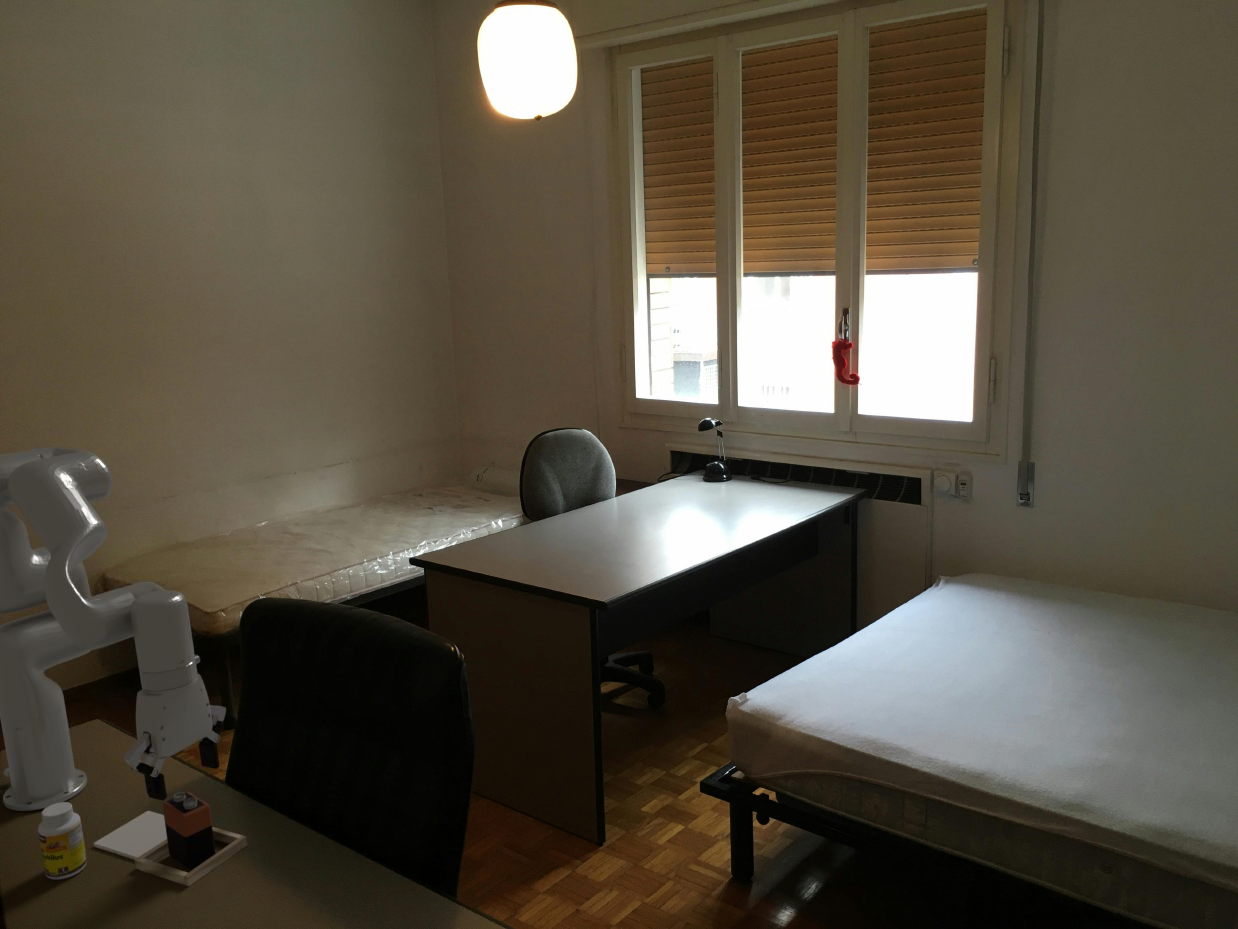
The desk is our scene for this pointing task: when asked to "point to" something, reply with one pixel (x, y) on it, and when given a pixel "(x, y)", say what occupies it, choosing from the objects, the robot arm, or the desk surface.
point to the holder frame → (188, 879)
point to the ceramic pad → (135, 836)
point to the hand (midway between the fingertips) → (185, 782)
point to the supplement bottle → (61, 841)
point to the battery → (189, 829)
